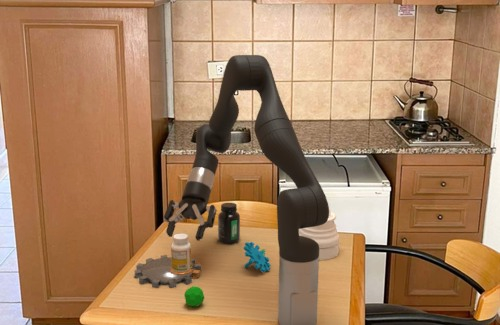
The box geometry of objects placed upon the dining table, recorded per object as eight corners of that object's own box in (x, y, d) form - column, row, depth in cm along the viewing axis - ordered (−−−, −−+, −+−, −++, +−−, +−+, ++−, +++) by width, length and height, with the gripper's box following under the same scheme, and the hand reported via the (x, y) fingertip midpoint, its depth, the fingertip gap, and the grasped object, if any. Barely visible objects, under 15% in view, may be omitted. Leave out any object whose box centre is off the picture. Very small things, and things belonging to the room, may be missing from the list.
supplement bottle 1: (181, 262, 180) (180, 230, 177) (195, 267, 177) (194, 235, 174) (167, 269, 176) (166, 236, 173) (181, 274, 173) (180, 241, 170)
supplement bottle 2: (239, 244, 198) (239, 208, 194) (217, 244, 197) (217, 208, 194) (239, 236, 204) (239, 201, 201) (218, 236, 204) (218, 201, 201)
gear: (264, 273, 174) (241, 244, 175) (249, 285, 176) (227, 256, 177) (278, 263, 184) (256, 236, 185) (263, 275, 186) (243, 247, 188)
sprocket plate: (207, 283, 171) (206, 277, 171) (138, 291, 167) (137, 285, 166) (194, 256, 188) (194, 251, 188) (132, 263, 184) (131, 257, 183)
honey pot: (338, 261, 186) (340, 203, 181) (294, 258, 188) (295, 200, 183) (339, 244, 198) (341, 189, 193) (298, 242, 200) (299, 187, 195)
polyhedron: (208, 304, 160) (208, 287, 158) (194, 311, 156) (193, 294, 155) (194, 298, 163) (194, 281, 162) (180, 305, 159) (180, 287, 158)
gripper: (172, 177, 182) (155, 228, 175) (218, 182, 178) (203, 235, 170) (180, 190, 188) (164, 240, 181) (225, 195, 184) (210, 246, 176)
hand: (183, 237), depth 176 cm, fingers open, 8 cm apart
